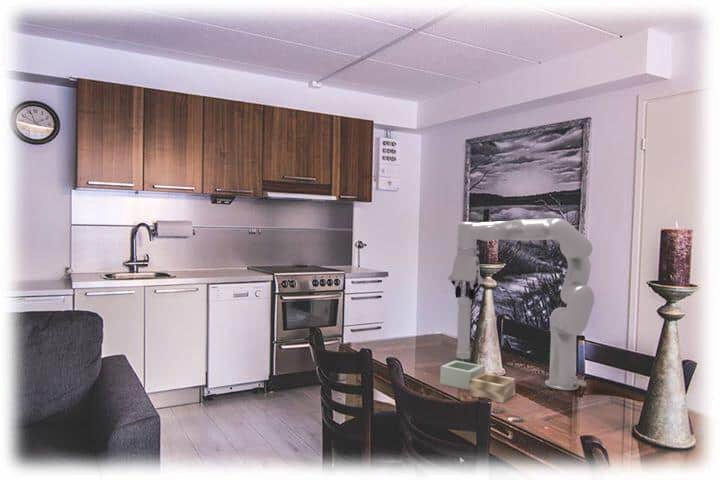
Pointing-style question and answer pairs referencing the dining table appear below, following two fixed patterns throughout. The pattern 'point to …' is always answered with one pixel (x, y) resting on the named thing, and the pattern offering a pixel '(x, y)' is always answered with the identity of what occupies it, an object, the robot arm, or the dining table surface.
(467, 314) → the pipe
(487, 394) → the oak collar
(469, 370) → the holder block
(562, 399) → the dining table surface
